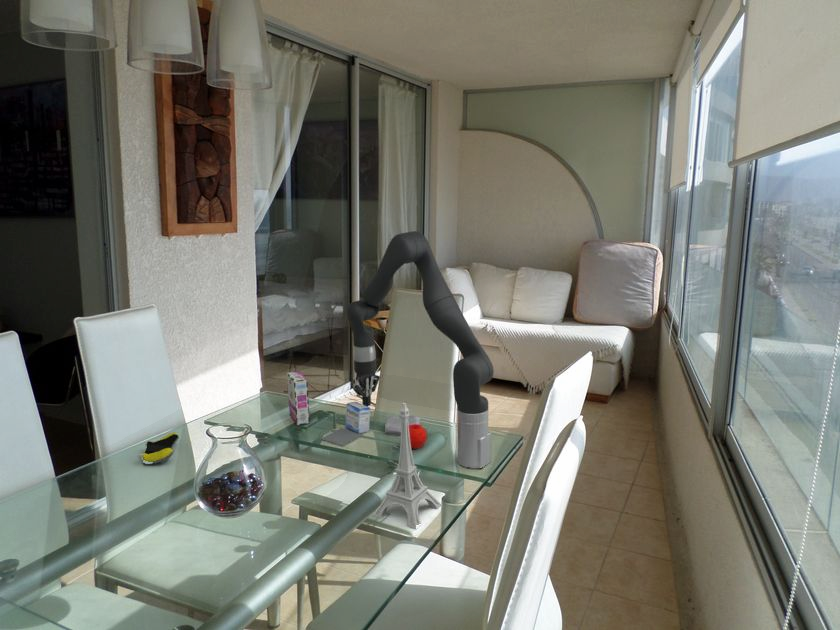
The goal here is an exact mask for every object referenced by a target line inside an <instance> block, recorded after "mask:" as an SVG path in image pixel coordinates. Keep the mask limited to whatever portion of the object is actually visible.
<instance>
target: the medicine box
mask: <svg viewBox="0 0 840 630" xmlns="http://www.w3.org/2000/svg"><path fill="white" fill-rule="evenodd" d="M345 407H346V410H345V429H347V430H349V431H353V432H356V433H359V434H363V433H368V432H369V431H370V420H371V419H370V417H371V416H370V415H371V407H370V406H365V405H363V403H360V402H358V401H350V402H347V403H346V406H345Z"/></svg>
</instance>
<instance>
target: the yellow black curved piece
mask: <svg viewBox="0 0 840 630" xmlns="http://www.w3.org/2000/svg"><path fill="white" fill-rule="evenodd" d="M178 440H179V435H178V433H177V432H171V433H168V434H167V435H165V436H164V437H162V438H160V439H158V440H156V441H152V440H149V441H145V442H144V445H145V449H146V450H145V449H144V450H145V451H144V452H142V453H139V455H140V456H141V459H142V458H143V460H145V461H148V462H153V463H155V464H159V463H158V462H161V463H165V462H167V461H168V460H169V459H170V458H171V457H172V456H173V455H174V454H175V453H174V450H173V447H174V446H175V444H176V443H177V441H178ZM146 447H147V448H146ZM171 448H172V449H171Z"/></svg>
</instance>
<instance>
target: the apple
mask: <svg viewBox="0 0 840 630" xmlns="http://www.w3.org/2000/svg"><path fill="white" fill-rule="evenodd" d="M409 435H410V443H411V449H412V448H413V449H412V450H418V449H420V448H422V446H424V445H425V443H426V441H427V437H428V436H427V435H428V434H427V431H426V429H425V428H424V427H423V426H422V425H421V424H420V425H418V424H414V425H409ZM417 448H418V449H417Z"/></svg>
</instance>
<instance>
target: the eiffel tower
mask: <svg viewBox="0 0 840 630" xmlns="http://www.w3.org/2000/svg"><path fill="white" fill-rule="evenodd" d="M409 416H411V414H410V409H409V408H408V406H407V403H406V402H402V404H401V408H400V409H399V415H398V418H401V436H400V442H399V443H400V444H399V456H398V462H397V463H398V465H397V468H395V472H396V474H395V476H394V477H395V478H394V480H393V482H392V484H391V488H389V490H387V491H386V492H385V495H386V497H385V498H384V499H383V500H382V502H381V503H380V504H379V506H378V508H376V510H375V511H374V512H373V514H372V515H371V516H372V517H375V518H377V519H382V518H384V517H385V516H386V515H387V512H386V511H387V510H388V508H389V506H391V505H393V504H395V505H400V506H401V507H402V508H403V509H404V510H405V511H406V515H407V518H408V519H407V520H408V522H407V524H408V525H407V526H406V527H407V528H410V529H413V530H417V529H416V525H419V524H421V520H420V517H419V506H420V503H421V501H423V500H424V501H426V502H427V503H428V506H427V507H428V508H431V509H434V510H439V509H440V508H441V507H443V504H442V503H441V502H440V501H438V499H437V498H436V497H435V496H434V495H433V494H432V493H430V491H429V490H428V486H427V485H424V484H423V483H422V480H421V478H420V476H419V474H418V472H417V468H418V465H417V466H416V465H415V461H414V456H413V449H412V448H411V443H410V435H409V423H408V417H409Z"/></svg>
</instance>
